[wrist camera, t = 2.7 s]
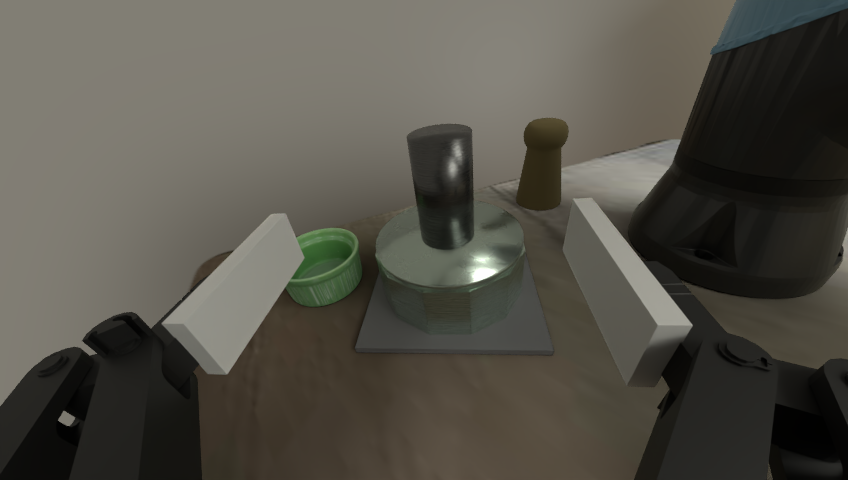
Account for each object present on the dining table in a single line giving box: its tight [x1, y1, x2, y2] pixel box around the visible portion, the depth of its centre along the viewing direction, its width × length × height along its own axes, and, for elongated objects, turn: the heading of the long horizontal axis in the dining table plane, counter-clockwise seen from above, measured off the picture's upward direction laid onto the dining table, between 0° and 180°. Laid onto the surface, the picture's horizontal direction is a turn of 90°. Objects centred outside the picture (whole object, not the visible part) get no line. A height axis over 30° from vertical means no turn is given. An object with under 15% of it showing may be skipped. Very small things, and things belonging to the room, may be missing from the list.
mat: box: [355, 253, 554, 355], centre depth 31 cm, size 16×16×1 cm
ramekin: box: [285, 228, 362, 307], centre depth 32 cm, size 9×9×4 cm
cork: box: [516, 118, 569, 210], centre depth 40 cm, size 6×6×11 cm
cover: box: [375, 124, 526, 335], centre depth 26 cm, size 13×13×15 cm
